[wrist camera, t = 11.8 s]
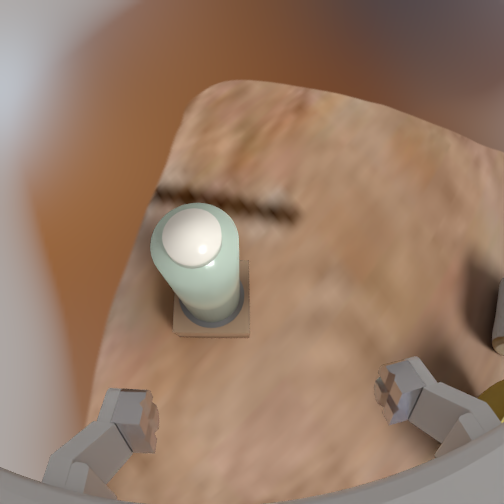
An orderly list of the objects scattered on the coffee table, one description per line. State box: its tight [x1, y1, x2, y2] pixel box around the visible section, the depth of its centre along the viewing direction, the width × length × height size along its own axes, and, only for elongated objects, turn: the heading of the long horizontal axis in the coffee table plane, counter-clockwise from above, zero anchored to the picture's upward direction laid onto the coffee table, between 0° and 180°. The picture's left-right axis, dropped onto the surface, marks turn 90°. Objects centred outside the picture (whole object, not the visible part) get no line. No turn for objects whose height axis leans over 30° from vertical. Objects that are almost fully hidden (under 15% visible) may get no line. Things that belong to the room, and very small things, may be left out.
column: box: [150, 203, 240, 322], centre depth 19 cm, size 4×4×11 cm
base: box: [173, 260, 250, 338], centre depth 26 cm, size 6×6×3 cm
